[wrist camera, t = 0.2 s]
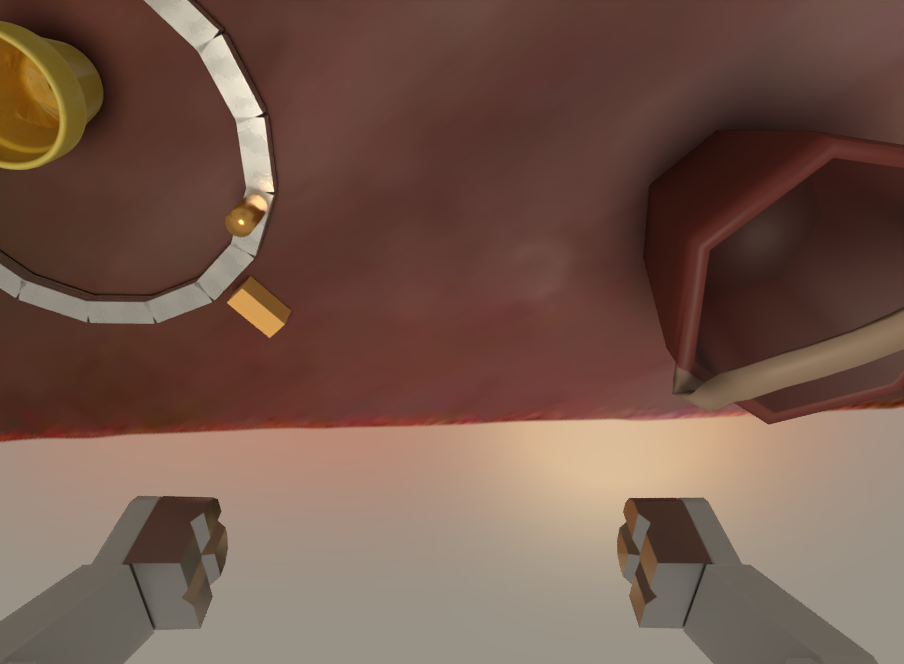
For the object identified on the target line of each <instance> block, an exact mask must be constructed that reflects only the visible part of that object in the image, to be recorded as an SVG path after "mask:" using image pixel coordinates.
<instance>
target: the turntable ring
mask: <svg viewBox="0 0 904 664" xmlns="http://www.w3.org/2000/svg"><path fill="white" fill-rule="evenodd" d="M144 1H145V2H146V3H147V4H148V5H150V6H151V7H152V8H153V9H154V10H155V11H156V12H157V13H158V14H159V15H160V16H161V17H162V18H163V19H164V20H166V21H167V22H168V23H169V24H170V25H171V26H172V27H173V28H174V29H175V30H176V31H177V32H178V33H179V34H180V35H181V36H183V37H184V38H185V39H186V40H187V41H188V42H189V43H190V44H191V45H192V46H193V47H194V48H195V49H196V50H197V51H198V52H199V54H200V56H201V58H202V59H203V61H204V63H205V65H206V67H207V69H208V70H209V72H210V74H211V76H212V78H213V80H214V81H215V83H216V85H217V87H218V89H219V91H220V92H221V94H222V96H223V98H224V100H225V102H226V103H227V105H228V107H229V109H230V111H231V113H232V114H233V116H234V118H235V120H236V124H237V130H238V137H239V143H240V150H241V157H242V163H243V170H244V176H245V183H246V191H245V195H244V198H243V200H242V201H241V202H240V203H239V204H238V205H237V206H236V207H235V208H234V209H233V210H232V211H231V212H230V213H229V214H228V215H227V216H226V218H225V226H226V228H227V230H228V231H229V232H230V233H231V234H232V235H233V239H232V242H231V244H230V245H229V246H228V247H227V249H226V250H225V251H224V252H223V253H222V254H221V255H220V256H219V257H218V258H217V260H216V261H215V262H214V263H213V264H212V265H211V266H210V267H209V268H208V269H207V271H206V272H205V273H204V274H203V275H202V276H201V277H198V278H196V279H193V280H191V281H188V282H186V283H183V284H181V285H178V286H175V287H173V288H170V289H168V290H165V291H163V292H160V293H158V294H155V295H153V296H133V295H93V294H90V293H87V292H84V291H81V290H78V289H75V288H72V287H69V286H66V285H63V284H60V283H58V282H55V281H52V280H49V279H46V278H43V277H40V276H37V275H34V274H32V273H31V272H29V271H28V270H26V269H25V268H24V267H22V266H21V265H19V264H18V263H16V262H15V261H13V260H12V259H11V258H9V257H8V256H6V255H5V254H3V253H2V252H0V288H1V289H3V290H4V291H6V292H7V293H9V294H10V295H12V296H13V297H15V298H16V297H18V296H19V300H21V301H24V302H27V303H30V304H33V305H36V306H39V307H42V308H45V309H48V310H51V311H54V312H57V313H60V314H64V315H67V316H70V317H73V318H76V319H79V320H82V321H85V322H88V321H89V320H90V323H149V324H155V322H156V321H157V323H159V322H162V321H164V320H167V319H169V318H172V317H175V316H177V315H180V314H182V313H185V312H188V311H190V310H193V309H195V308H198V307H201V306H203V305H206V304H209V303H211V302H213V300H216V299H217V298H218V296H219V295H220V294H221V293H222V292H223V291H224V290H225V289H226V288H227V287H228V286H229V285H230V284H231V283H232V282H233V281H234V279H235V278H236V277H237V276H238V275H239V274H240V273H241V272H242V271H243V270H244V269H245V268H246V267H247V266H248V265H249V264H250V262H251V261H252V260H253V259H254V258H255V257H256V255H257V254H258V252H259V251H260V248H261V244H262V241H263V238H264V234H265V231H266V227H267V224H268V221H269V217H270V214H271V211H272V207H273V204H274V201H275V197H276V194H277V191H276V189H277V188H278V186H277V178H276V170H275V162H274V154H273V146H272V138H271V130H270V122H269V115H260V114H263V113H264V112H266V111H267V109H266V107H265V105H264V103H263V101H262V100H261V98H260V96H259V94H258V92H257V90H256V88H255V86H254V84H253V82H252V80H251V78H250V76H249V74H248V72H247V70H246V69H245V67H244V65H243V63H242V61H241V59H240V57H239V55H238V53H237V51H236V49H235V47H234V45H233V43H232V41H231V40H230V38H229V36H228V34H223V35H221V34H222V33H223V31H224V29H223V28H222V27H221V26H220V25H219V24H218V23H217V22H216V21H215V20H214V19H213V18H212V17H211V16H210V15H209V14H208V13H207V12H206V11H205V10H204V9H203V8H202V7H201V6H200V5H199V4H198V3H197V2H196V1H195V0H144Z"/></svg>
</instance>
